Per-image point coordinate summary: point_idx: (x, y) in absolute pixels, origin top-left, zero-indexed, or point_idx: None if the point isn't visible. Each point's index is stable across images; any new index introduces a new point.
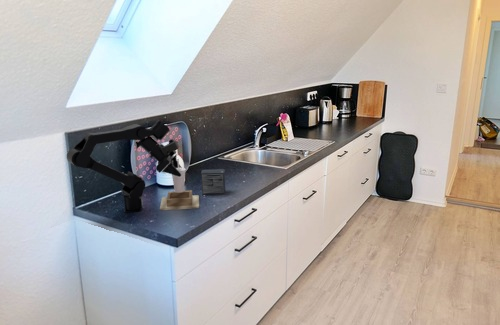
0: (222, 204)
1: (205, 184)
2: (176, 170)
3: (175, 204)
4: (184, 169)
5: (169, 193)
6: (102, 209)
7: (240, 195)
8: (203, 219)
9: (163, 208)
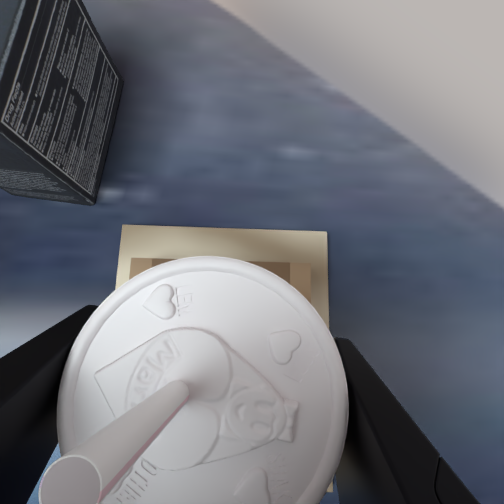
0: (285, 110)
1: (63, 148)
2: (422, 440)
3: None
4: (224, 279)
5: None
6: None
7: (164, 9)
8: (488, 220)
9: None
